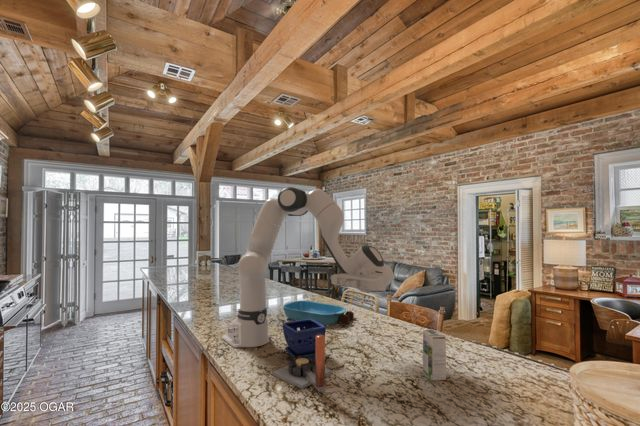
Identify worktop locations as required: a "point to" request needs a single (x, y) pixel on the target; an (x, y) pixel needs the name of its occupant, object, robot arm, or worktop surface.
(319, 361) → the nut with spanner
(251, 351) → the worktop surface
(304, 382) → the plate
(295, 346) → the flower pot
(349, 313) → the brown pine cone
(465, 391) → the worktop surface
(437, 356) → the syrup box
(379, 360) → the worktop surface
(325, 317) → the casserole dish
